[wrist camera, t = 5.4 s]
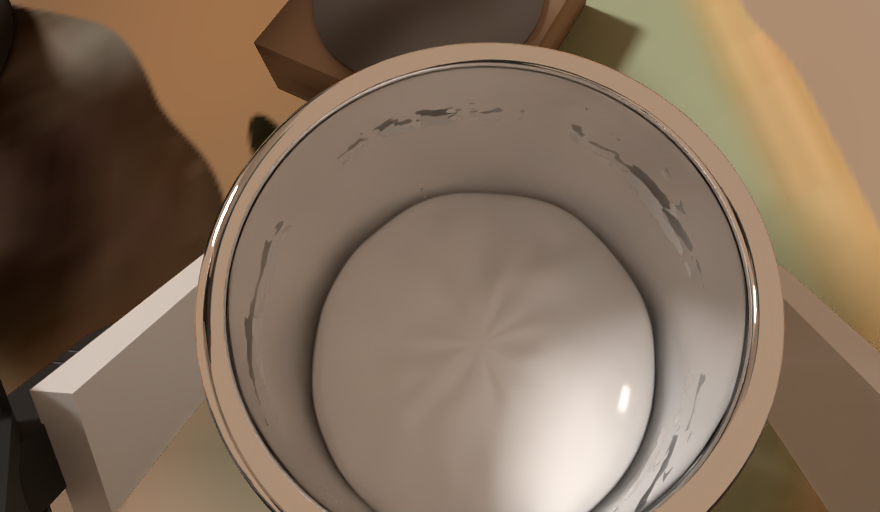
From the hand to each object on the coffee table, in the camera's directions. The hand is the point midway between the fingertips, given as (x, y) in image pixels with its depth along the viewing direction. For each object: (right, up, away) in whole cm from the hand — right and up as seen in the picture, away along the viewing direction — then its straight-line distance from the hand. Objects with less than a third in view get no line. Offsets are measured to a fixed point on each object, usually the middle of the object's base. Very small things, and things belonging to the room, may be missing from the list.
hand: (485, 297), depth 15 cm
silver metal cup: (0, -5, +6) cm, 7 cm away
